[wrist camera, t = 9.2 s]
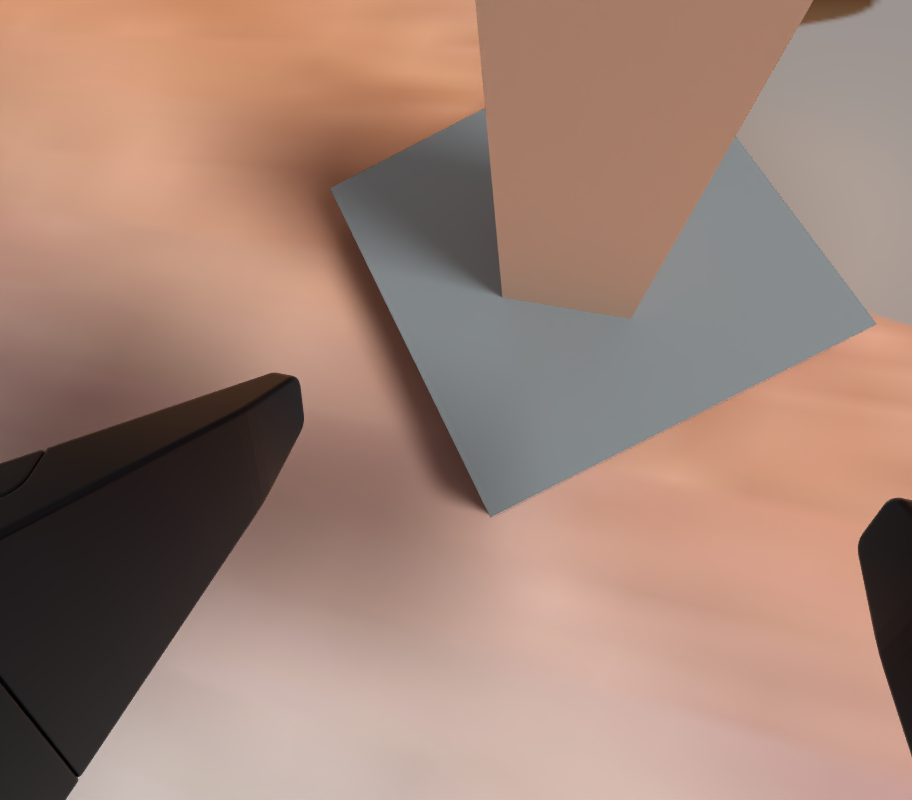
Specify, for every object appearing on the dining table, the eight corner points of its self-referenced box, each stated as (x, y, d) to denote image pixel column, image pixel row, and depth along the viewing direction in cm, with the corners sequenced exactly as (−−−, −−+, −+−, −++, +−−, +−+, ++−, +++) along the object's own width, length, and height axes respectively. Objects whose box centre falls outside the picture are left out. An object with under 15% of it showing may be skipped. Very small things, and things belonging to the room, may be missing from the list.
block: (630, 318, 18) (891, -137, 5) (502, 297, 19) (462, -147, 6) (651, 201, 19) (922, -438, 6) (527, 185, 19) (538, -416, 7)
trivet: (494, 516, 20) (490, 517, 17) (350, 222, 23) (329, 188, 20) (832, 347, 19) (876, 324, 17) (637, 74, 23) (650, 22, 20)
